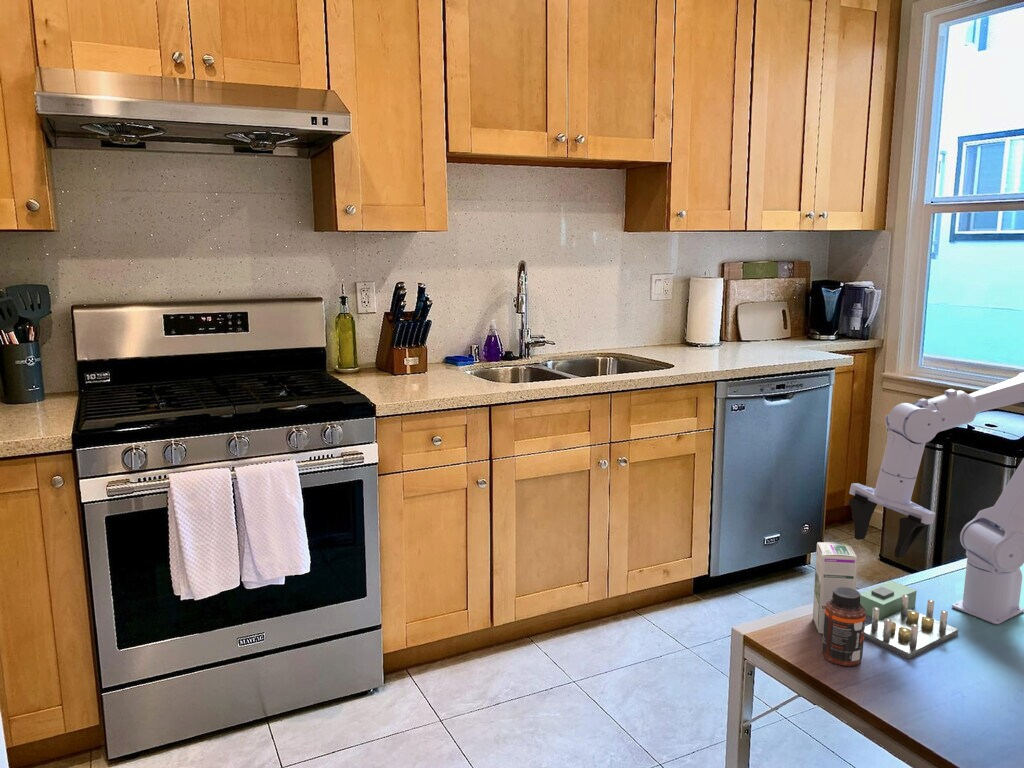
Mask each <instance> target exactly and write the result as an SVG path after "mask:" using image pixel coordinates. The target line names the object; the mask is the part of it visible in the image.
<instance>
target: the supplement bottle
mask: <svg viewBox="0 0 1024 768" xmlns="http://www.w3.org/2000/svg"><path fill="white" fill-rule="evenodd" d="M860 593H861V592H859V591H858V590H855V589H852V588H848V587H837V588H835V589H834V590H833V595H832V598H833V599H831V600H829V601H828V602H827V603H826V606H825V617H824V631H823V634H822V636H823V637H822V655H823V657H824V658H825V659H826V660H828V661H829V662H831V663H833V664H835V665H839V666H843V667H853V666H857V665H860V663H861V662H862V660H863V656H864V655H863V653H864V642H865V638H864V630H865V626H866V618H867V617H866V616H867V615H866V611H865V608H864V607H863V606H862V605H861V604H860Z"/></svg>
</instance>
